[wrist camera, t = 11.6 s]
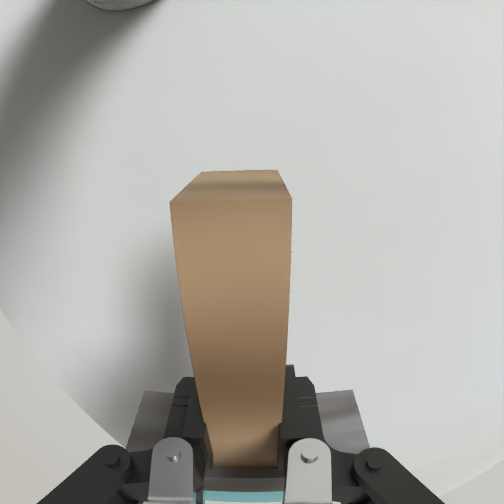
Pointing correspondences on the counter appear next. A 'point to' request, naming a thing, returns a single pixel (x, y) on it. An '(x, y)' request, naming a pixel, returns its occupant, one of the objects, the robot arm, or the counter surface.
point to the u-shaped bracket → (244, 496)
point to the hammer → (239, 329)
